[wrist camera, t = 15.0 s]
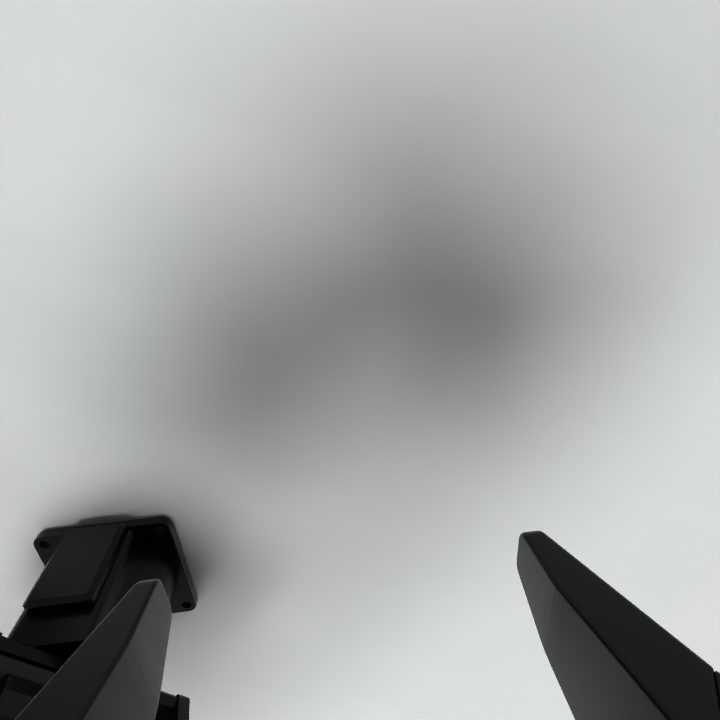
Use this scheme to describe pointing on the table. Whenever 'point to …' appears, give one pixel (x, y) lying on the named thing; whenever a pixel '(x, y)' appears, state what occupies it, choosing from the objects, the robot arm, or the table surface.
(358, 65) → the table surface
